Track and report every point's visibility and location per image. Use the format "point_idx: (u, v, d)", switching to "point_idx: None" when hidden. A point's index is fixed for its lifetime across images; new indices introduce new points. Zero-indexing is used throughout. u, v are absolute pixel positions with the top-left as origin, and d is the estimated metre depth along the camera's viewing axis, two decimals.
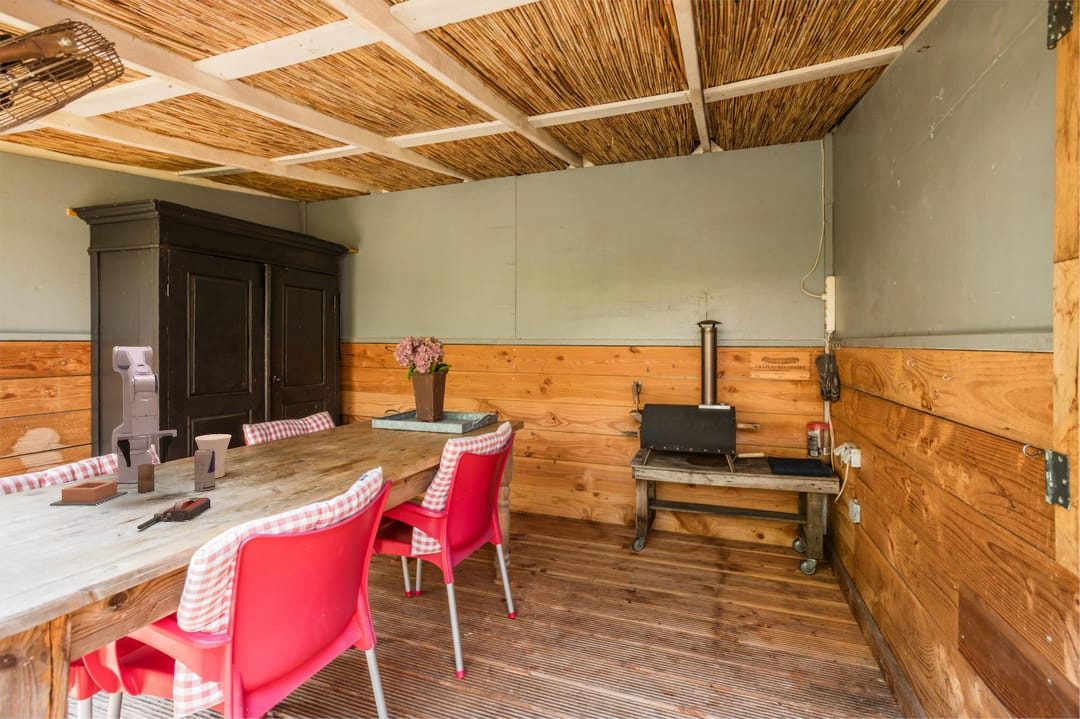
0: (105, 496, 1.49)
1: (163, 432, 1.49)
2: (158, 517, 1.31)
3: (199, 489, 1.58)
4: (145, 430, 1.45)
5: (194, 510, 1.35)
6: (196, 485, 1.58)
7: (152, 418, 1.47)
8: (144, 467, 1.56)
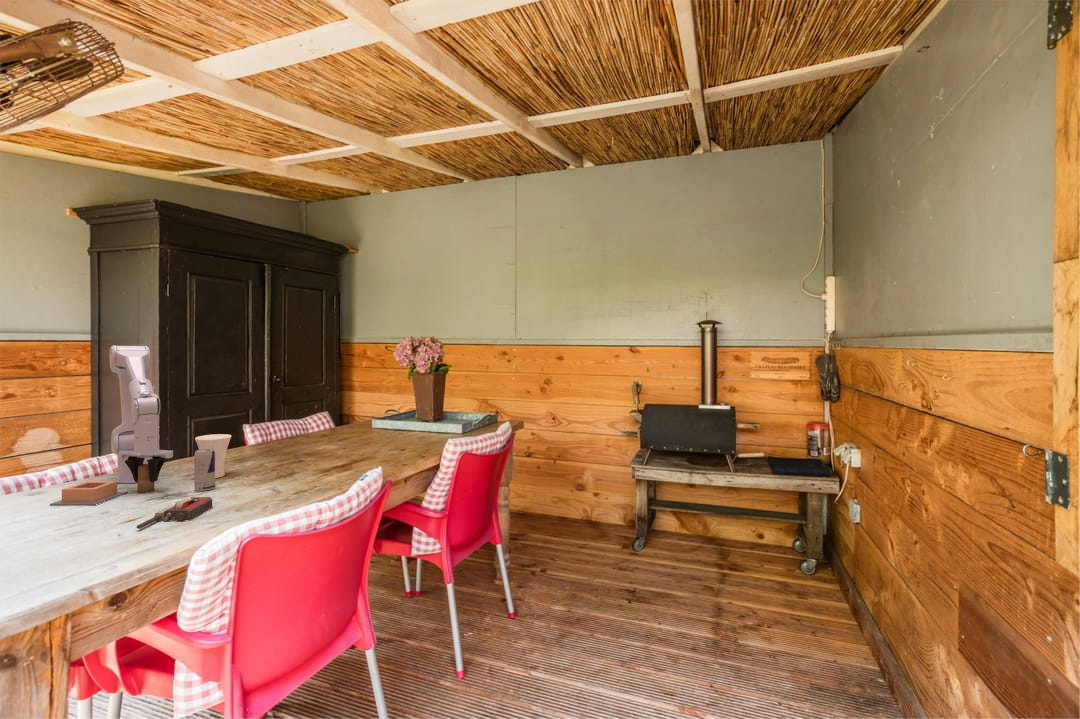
0: (105, 496, 1.49)
1: (155, 454, 1.56)
2: (159, 516, 1.31)
3: (199, 489, 1.58)
4: (138, 451, 1.55)
5: (194, 510, 1.35)
6: (196, 485, 1.58)
7: (145, 440, 1.55)
8: (144, 467, 1.56)
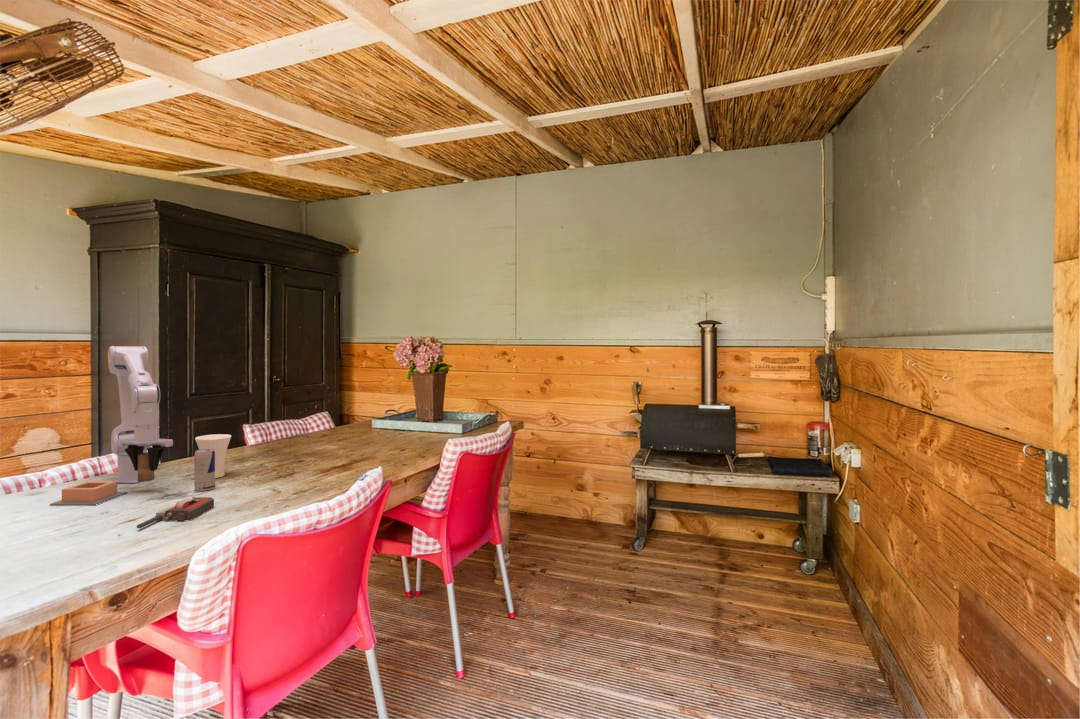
0: (105, 496, 1.49)
1: (155, 442, 1.56)
2: (159, 516, 1.32)
3: (199, 489, 1.58)
4: (138, 439, 1.54)
5: (195, 510, 1.35)
6: (196, 485, 1.58)
7: (145, 428, 1.55)
8: (144, 455, 1.56)
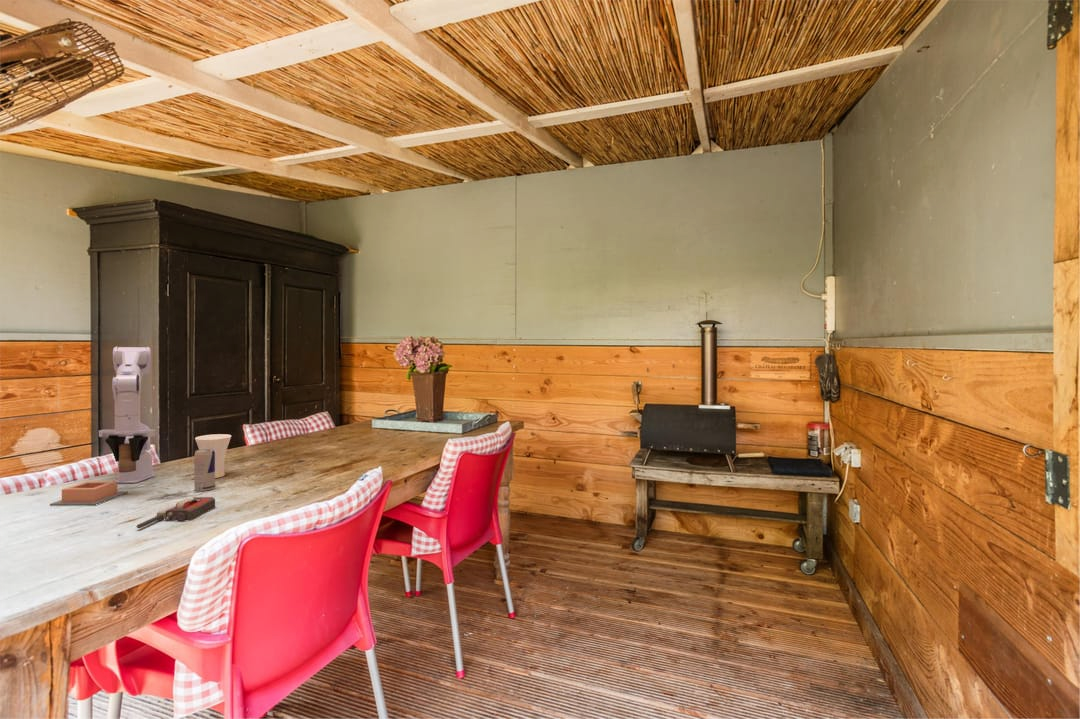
0: (105, 496, 1.49)
1: (137, 432, 1.53)
2: (160, 516, 1.32)
3: (199, 489, 1.58)
4: (119, 429, 1.51)
5: (195, 510, 1.35)
6: (196, 485, 1.58)
7: (126, 418, 1.52)
8: (125, 446, 1.53)
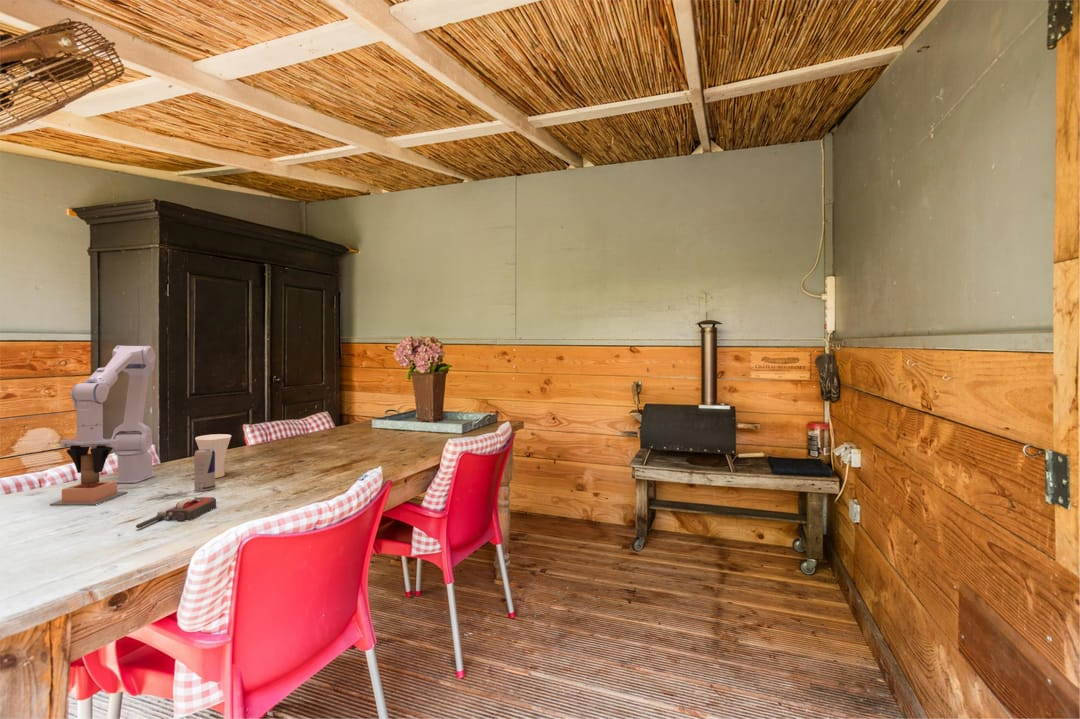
0: (105, 496, 1.49)
1: (99, 443, 1.47)
2: (160, 516, 1.32)
3: (199, 489, 1.58)
4: (80, 440, 1.46)
5: (195, 510, 1.35)
6: (196, 485, 1.58)
7: (88, 428, 1.46)
8: (87, 457, 1.47)
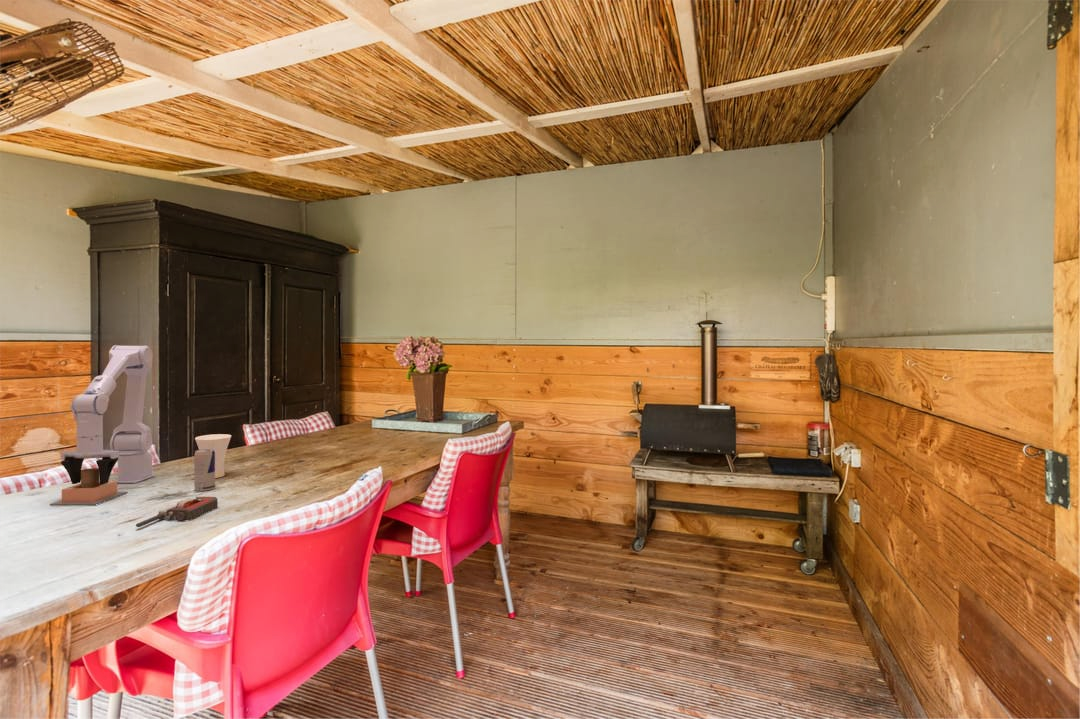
0: (105, 496, 1.49)
1: (100, 454, 1.47)
2: (161, 515, 1.32)
3: (199, 489, 1.58)
4: (81, 451, 1.46)
5: (196, 510, 1.35)
6: (196, 485, 1.58)
7: (88, 439, 1.46)
8: (87, 472, 1.47)
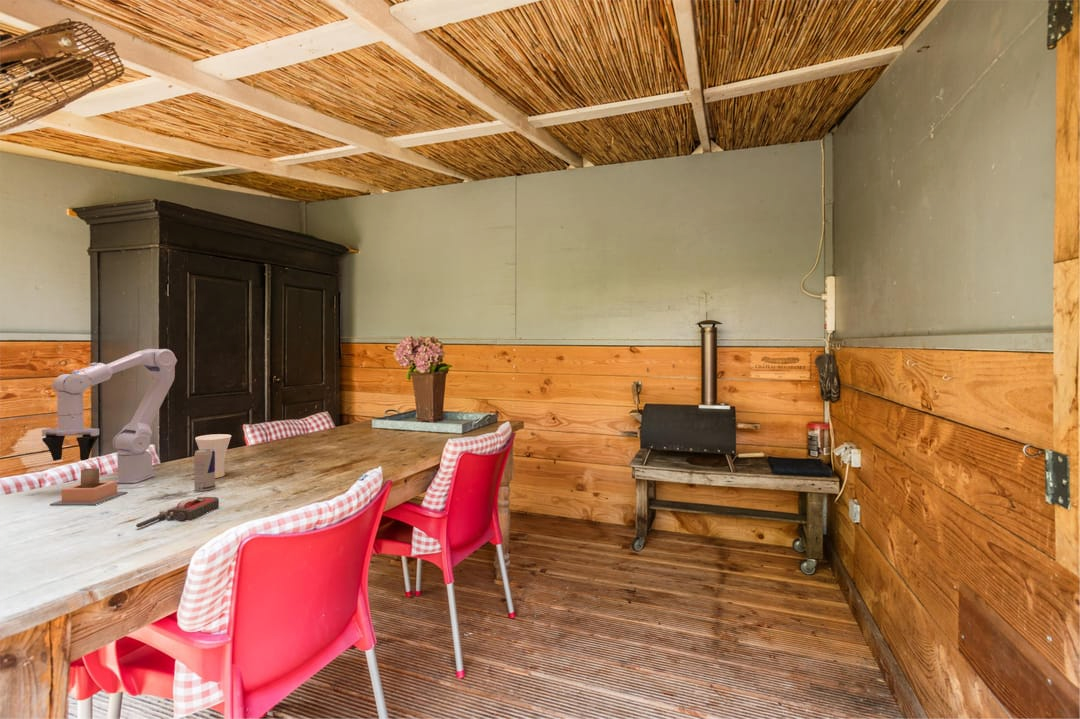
0: (105, 496, 1.49)
1: (80, 431, 1.53)
2: (162, 515, 1.32)
3: (199, 489, 1.58)
4: (61, 429, 1.52)
5: (196, 510, 1.35)
6: (196, 485, 1.58)
7: (69, 417, 1.52)
8: (87, 472, 1.47)
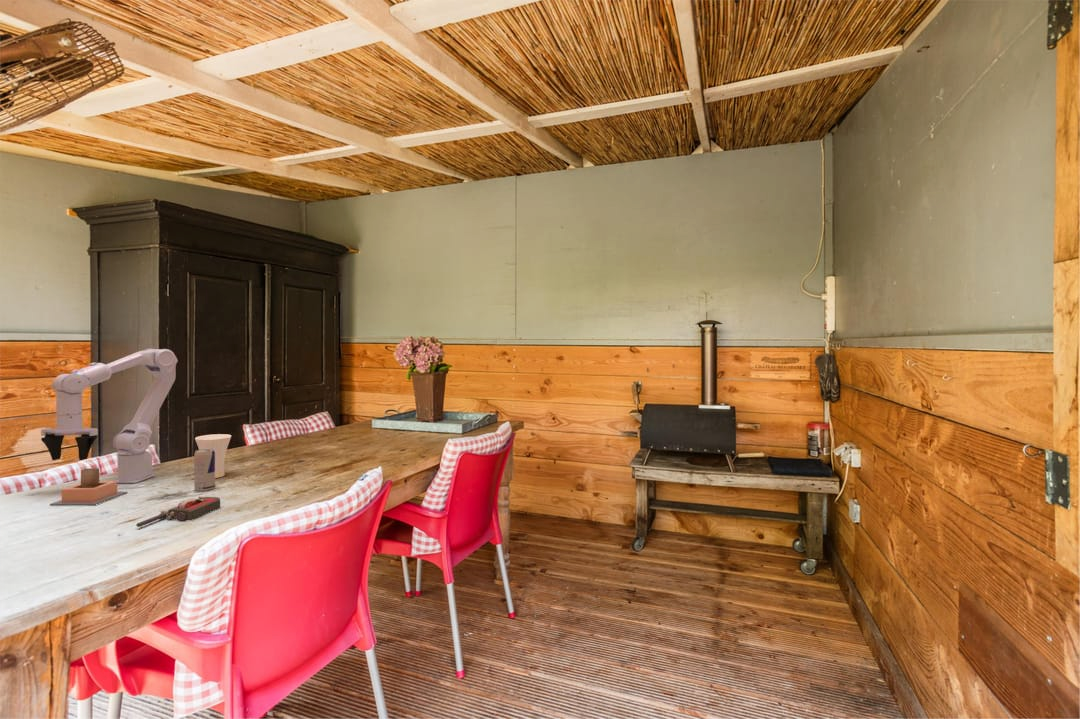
0: (105, 496, 1.49)
1: (79, 431, 1.53)
2: (163, 515, 1.33)
3: (199, 489, 1.58)
4: (60, 428, 1.52)
5: (197, 510, 1.35)
6: (196, 485, 1.58)
7: (67, 417, 1.52)
8: (87, 472, 1.47)
